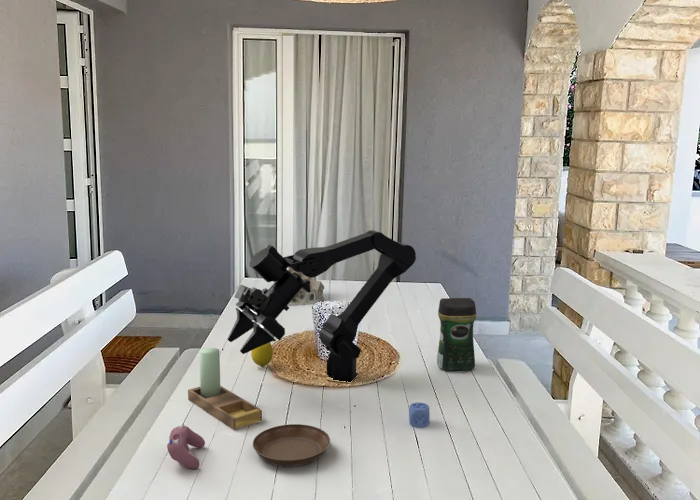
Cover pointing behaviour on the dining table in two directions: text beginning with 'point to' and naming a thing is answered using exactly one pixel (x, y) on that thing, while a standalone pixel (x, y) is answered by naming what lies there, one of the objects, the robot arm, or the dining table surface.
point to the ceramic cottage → (304, 296)
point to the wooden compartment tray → (227, 408)
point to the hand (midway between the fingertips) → (235, 346)
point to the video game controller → (184, 446)
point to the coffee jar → (456, 334)
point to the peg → (209, 372)
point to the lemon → (262, 354)
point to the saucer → (291, 444)
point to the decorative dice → (419, 414)
